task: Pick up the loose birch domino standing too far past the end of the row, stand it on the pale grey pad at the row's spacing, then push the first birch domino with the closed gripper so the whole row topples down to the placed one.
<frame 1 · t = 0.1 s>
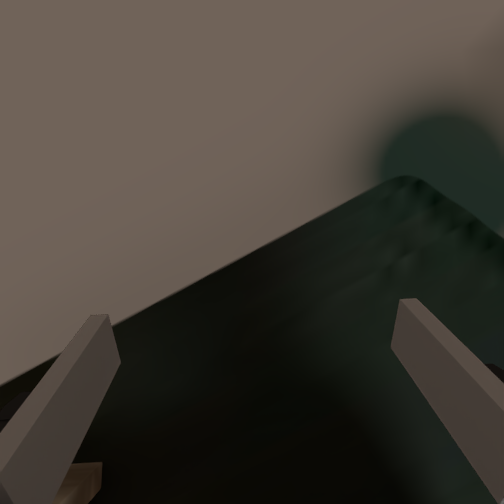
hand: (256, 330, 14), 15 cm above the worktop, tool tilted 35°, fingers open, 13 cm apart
domino 1: (66, 477, 26), on the worktop
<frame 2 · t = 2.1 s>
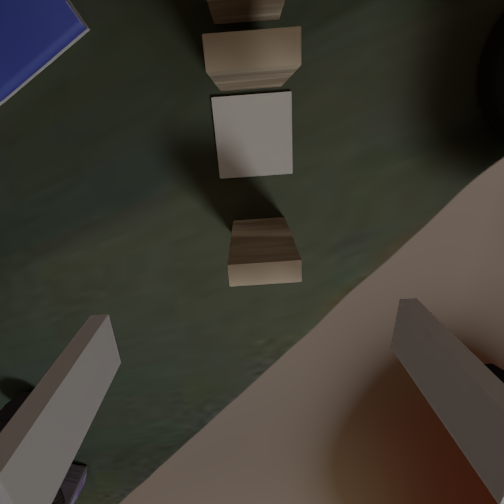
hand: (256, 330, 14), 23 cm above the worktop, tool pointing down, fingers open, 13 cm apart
cake pan box: (31, 461, 52), on the worktop
domino 4: (250, 77, 29), on the worktop
domino 3: (245, 8, 27), on the worktop
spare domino: (259, 226, 36), on the worktop
end pad: (253, 137, 32), on the worktop
hard drive: (14, 28, 28), on the worktop
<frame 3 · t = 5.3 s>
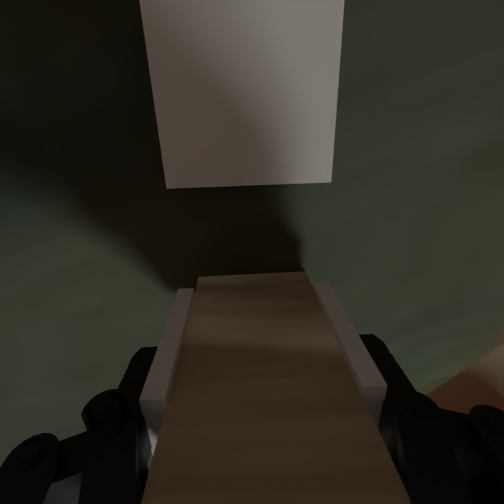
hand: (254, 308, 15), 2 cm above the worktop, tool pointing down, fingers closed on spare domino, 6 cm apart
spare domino: (252, 289, 17), on the worktop, touching gripper
end pad: (246, 93, 13), on the worktop
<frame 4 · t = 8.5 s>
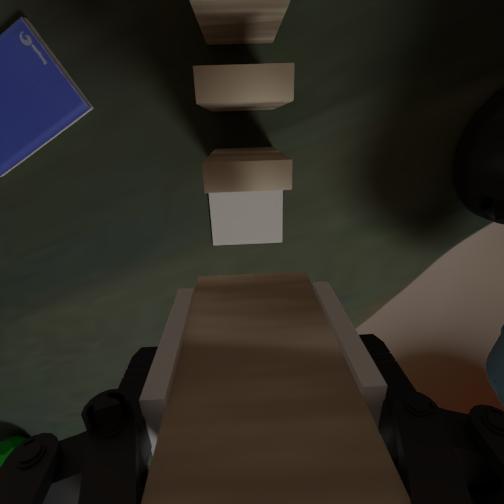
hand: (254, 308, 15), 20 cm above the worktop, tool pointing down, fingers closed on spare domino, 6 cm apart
polyhedron: (23, 438, 46), on the worktop
domino 4: (244, 158, 31), on the worktop
domino 3: (242, 99, 29), on the worktop
domino 2: (239, 30, 27), on the worktop
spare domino: (252, 289, 17), point 18 cm above the worktop, touching gripper
end pad: (246, 209, 33), on the worktop
hard drive: (19, 105, 29), on the worktop
when the fingers open (4 cm above the worktop, at t = 11.9 s): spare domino drops 1 cm, resting on end pad.
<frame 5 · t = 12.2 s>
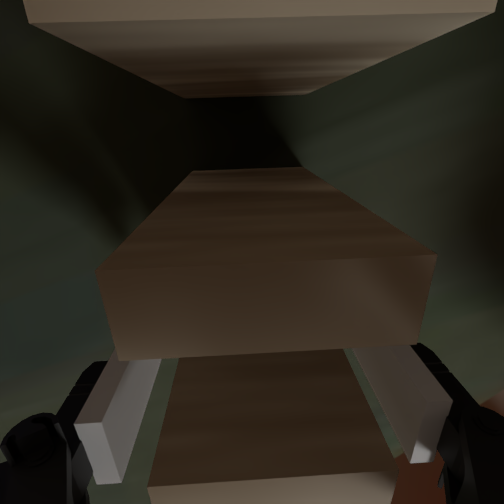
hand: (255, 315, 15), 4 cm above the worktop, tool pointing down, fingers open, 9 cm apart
domino 4: (248, 187, 17), on the worktop
domino 3: (244, 73, 14), on the worktop
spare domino: (252, 277, 19), resting on end pad
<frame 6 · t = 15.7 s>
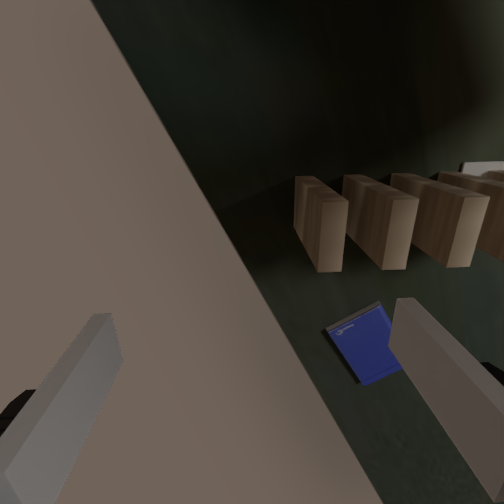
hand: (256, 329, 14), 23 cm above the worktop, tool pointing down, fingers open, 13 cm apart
domino 4: (441, 197, 35), on the worktop
domino 3: (395, 199, 35), on the worktop
domino 2: (349, 200, 35), on the worktop
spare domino: (489, 196, 35), resting on end pad
end pad: (487, 196, 35), on the worktop
hard drive: (367, 340, 44), on the worktop
domino 1: (303, 202, 35), on the worktop
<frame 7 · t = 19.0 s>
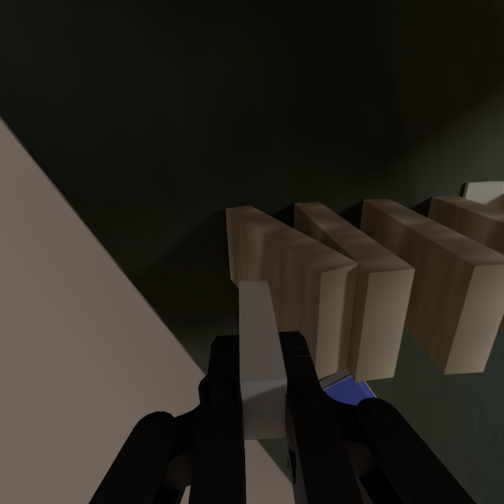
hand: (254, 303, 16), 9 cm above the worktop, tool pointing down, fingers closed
domino 4: (436, 231, 25), on the worktop
domino 3: (371, 235, 25), on the worktop
domino 2: (305, 238, 25), on the worktop
end pad: (501, 228, 25), on the worktop
hard drive: (342, 410, 34), on the worktop
domino 1: (239, 243, 24), on the worktop, tilted 21°
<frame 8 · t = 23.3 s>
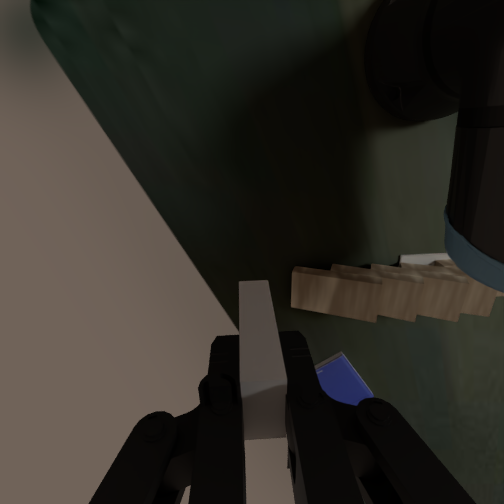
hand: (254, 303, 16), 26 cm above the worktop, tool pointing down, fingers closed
domino 4: (397, 283, 45), point 1 cm above the worktop, tilted 69°, touching domino 3, end pad, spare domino
domino 3: (368, 284, 45), point 1 cm above the worktop, tilted 66°, touching domino 2, domino 4
domino 2: (329, 284, 45), point 1 cm above the worktop, tilted 66°, touching domino 1, domino 3
end pad: (421, 277, 46), on the worktop
hard drive: (336, 380, 55), on the worktop
domino 1: (293, 286, 45), point 1 cm above the worktop, tilted 67°, touching domino 2
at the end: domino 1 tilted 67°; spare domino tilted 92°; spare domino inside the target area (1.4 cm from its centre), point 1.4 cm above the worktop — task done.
